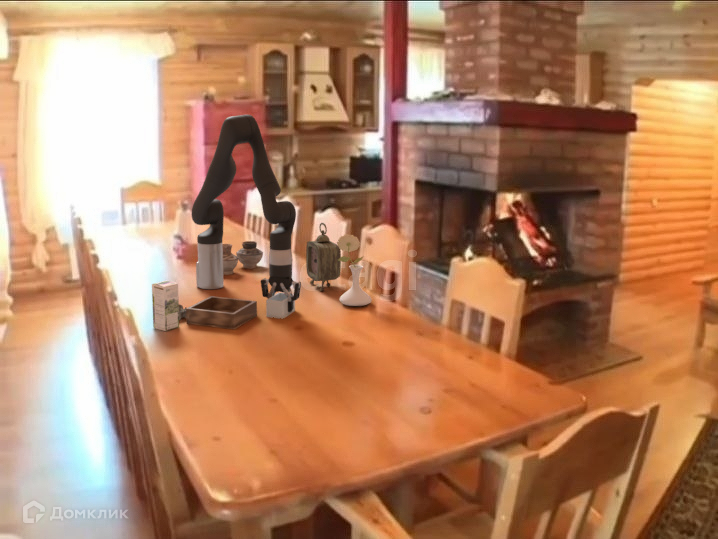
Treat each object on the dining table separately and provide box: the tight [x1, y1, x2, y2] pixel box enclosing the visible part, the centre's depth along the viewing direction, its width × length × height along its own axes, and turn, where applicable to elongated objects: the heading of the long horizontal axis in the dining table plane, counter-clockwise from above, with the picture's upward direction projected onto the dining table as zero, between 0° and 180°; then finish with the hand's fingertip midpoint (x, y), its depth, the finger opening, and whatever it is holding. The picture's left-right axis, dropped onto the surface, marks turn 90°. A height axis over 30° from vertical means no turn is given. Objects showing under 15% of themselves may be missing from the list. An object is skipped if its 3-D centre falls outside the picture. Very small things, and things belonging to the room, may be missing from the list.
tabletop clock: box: [305, 222, 342, 292], centre depth 280 cm, size 14×9×25 cm, turn 23°
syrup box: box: [151, 280, 180, 332], centre depth 229 cm, size 6×6×14 cm
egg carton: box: [179, 303, 187, 321], centre depth 241 cm, size 11×8×4 cm
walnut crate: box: [185, 295, 258, 330], centre depth 239 cm, size 17×16×5 cm
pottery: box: [222, 240, 264, 276], centre depth 307 cm, size 11×25×12 cm, turn 148°
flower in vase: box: [336, 234, 373, 307], centre depth 258 cm, size 13×11×25 cm
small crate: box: [265, 292, 296, 320], centre depth 247 cm, size 6×10×6 cm, turn 162°
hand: (280, 310), depth 247 cm, fingers closed on small crate, 6 cm apart
